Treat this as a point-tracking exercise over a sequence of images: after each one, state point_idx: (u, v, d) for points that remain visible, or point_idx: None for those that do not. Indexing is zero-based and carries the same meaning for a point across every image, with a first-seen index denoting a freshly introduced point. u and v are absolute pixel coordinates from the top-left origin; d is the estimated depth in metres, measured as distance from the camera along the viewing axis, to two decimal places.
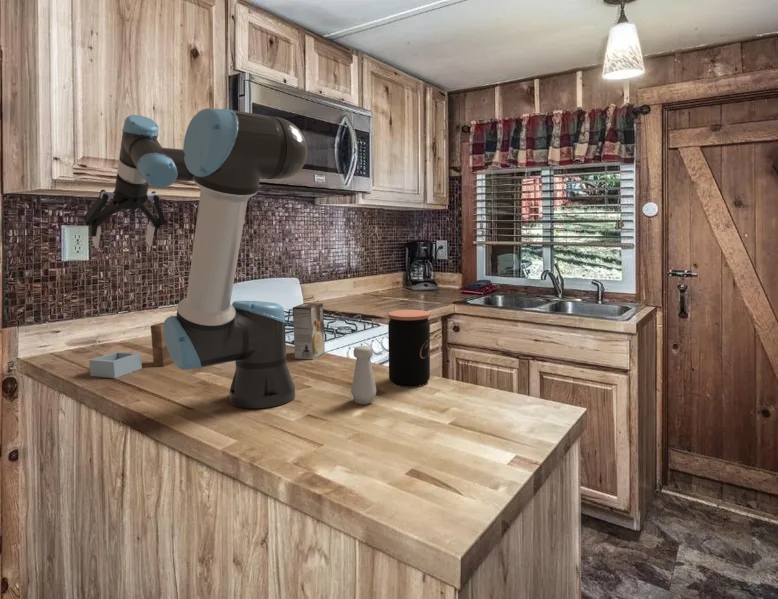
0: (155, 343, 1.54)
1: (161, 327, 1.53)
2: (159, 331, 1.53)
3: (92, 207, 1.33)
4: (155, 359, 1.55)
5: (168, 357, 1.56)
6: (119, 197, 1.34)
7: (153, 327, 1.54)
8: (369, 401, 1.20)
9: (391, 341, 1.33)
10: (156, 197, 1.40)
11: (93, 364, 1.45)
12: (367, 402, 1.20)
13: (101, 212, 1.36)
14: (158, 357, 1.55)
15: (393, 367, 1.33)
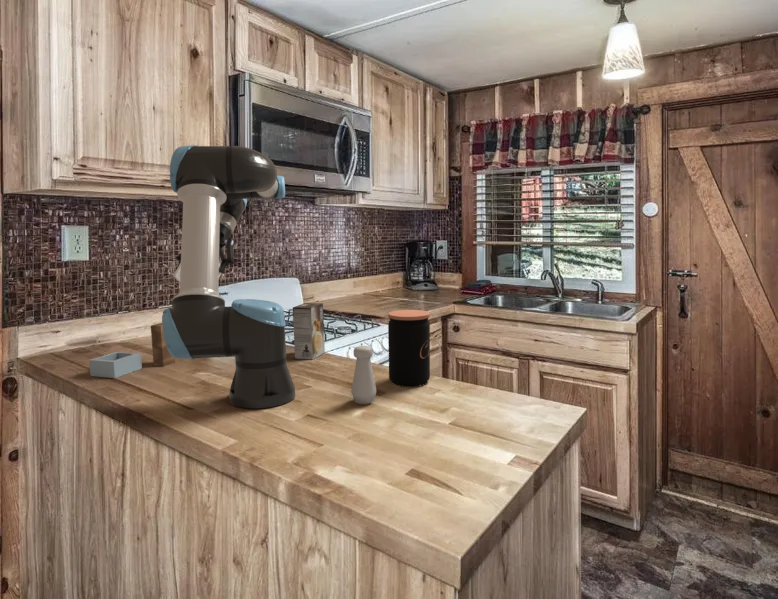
0: (155, 343, 1.54)
1: (161, 327, 1.53)
2: (159, 331, 1.53)
3: None
4: (155, 359, 1.55)
5: (168, 357, 1.56)
6: None
7: (153, 327, 1.54)
8: (369, 401, 1.20)
9: (391, 341, 1.33)
10: (229, 238, 1.69)
11: (93, 364, 1.45)
12: (367, 402, 1.20)
13: None
14: (158, 357, 1.55)
15: (393, 367, 1.33)
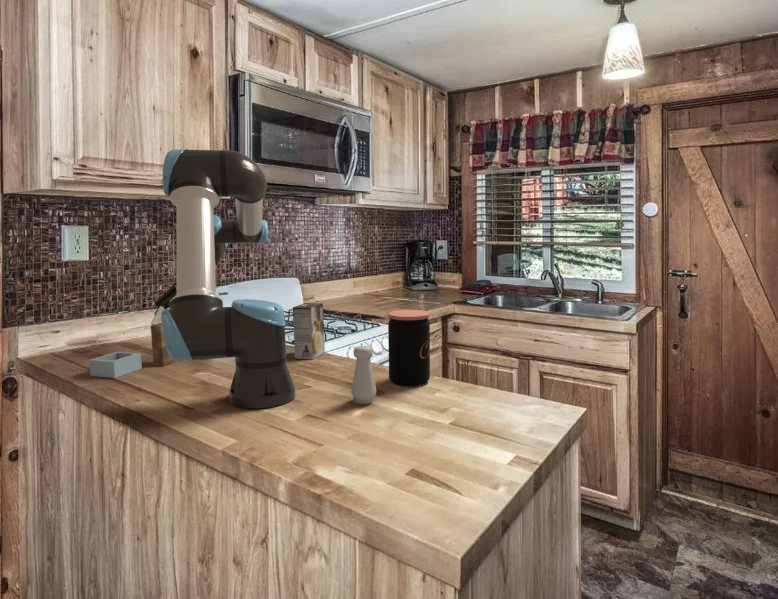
0: (155, 343, 1.54)
1: (161, 327, 1.53)
2: (159, 331, 1.53)
3: None
4: (155, 359, 1.55)
5: (168, 357, 1.56)
6: None
7: (153, 327, 1.54)
8: (369, 401, 1.20)
9: (391, 341, 1.33)
10: None
11: (93, 364, 1.45)
12: (367, 402, 1.20)
13: None
14: (158, 357, 1.55)
15: (393, 367, 1.33)
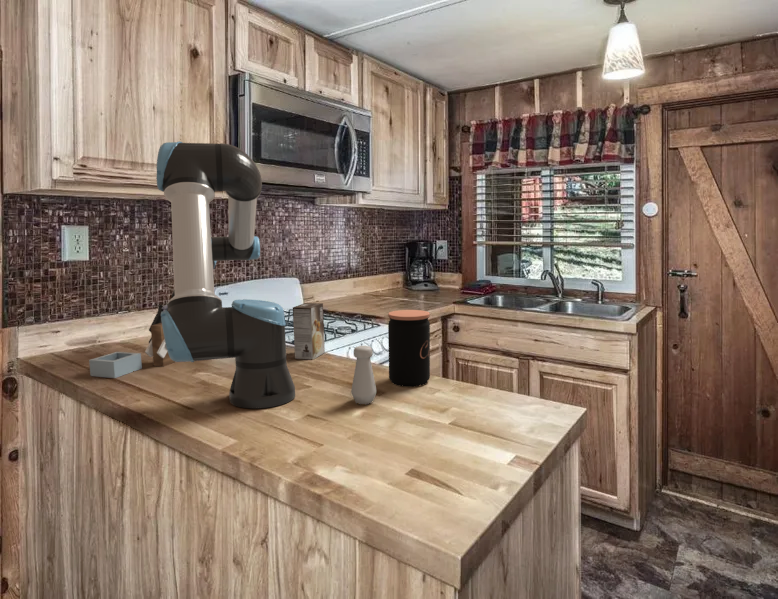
0: (155, 343, 1.54)
1: (161, 327, 1.53)
2: (159, 331, 1.53)
3: None
4: (155, 359, 1.55)
5: (168, 357, 1.56)
6: None
7: (153, 327, 1.54)
8: (369, 401, 1.20)
9: (391, 341, 1.33)
10: None
11: (93, 364, 1.45)
12: (367, 402, 1.20)
13: None
14: (158, 357, 1.55)
15: (393, 367, 1.33)
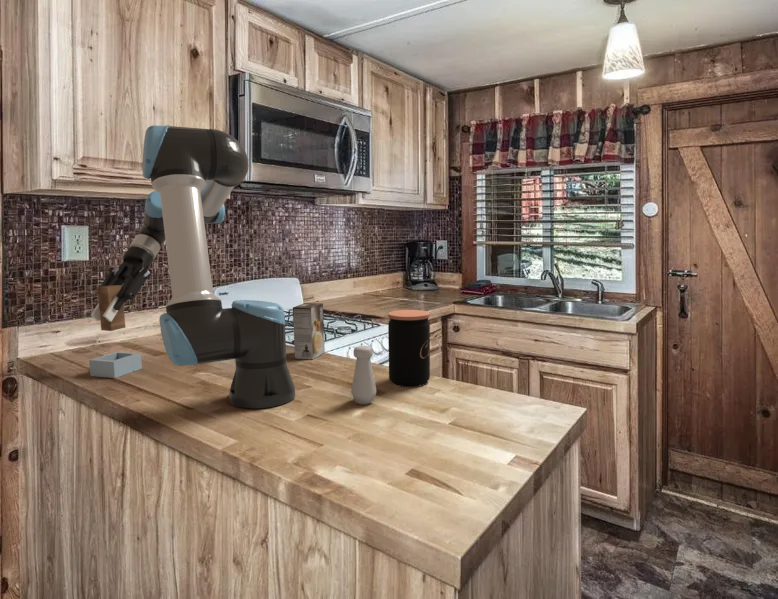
0: (102, 306, 1.44)
1: (108, 288, 1.43)
2: (106, 292, 1.43)
3: None
4: (102, 323, 1.45)
5: (117, 321, 1.46)
6: (121, 265, 1.53)
7: (100, 289, 1.44)
8: (369, 401, 1.20)
9: (391, 341, 1.33)
10: (144, 268, 1.50)
11: (93, 364, 1.45)
12: (367, 402, 1.20)
13: None
14: (106, 321, 1.45)
15: (393, 367, 1.33)
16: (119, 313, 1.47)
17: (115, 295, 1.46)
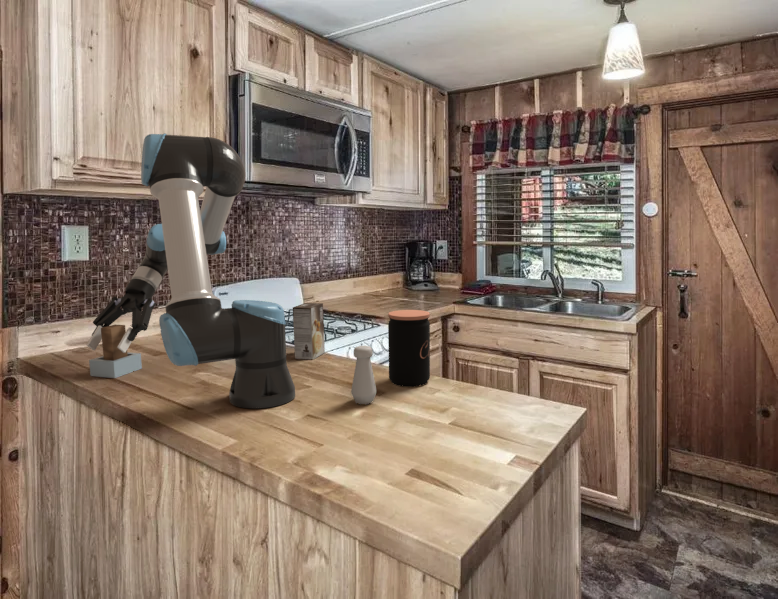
0: (106, 346, 1.46)
1: (112, 329, 1.45)
2: (109, 333, 1.45)
3: None
4: None
5: None
6: (124, 297, 1.55)
7: (103, 329, 1.45)
8: (369, 401, 1.20)
9: (391, 341, 1.33)
10: (149, 298, 1.52)
11: (93, 364, 1.45)
12: (367, 402, 1.20)
13: None
14: None
15: (393, 367, 1.33)
16: (122, 353, 1.49)
17: (118, 335, 1.47)
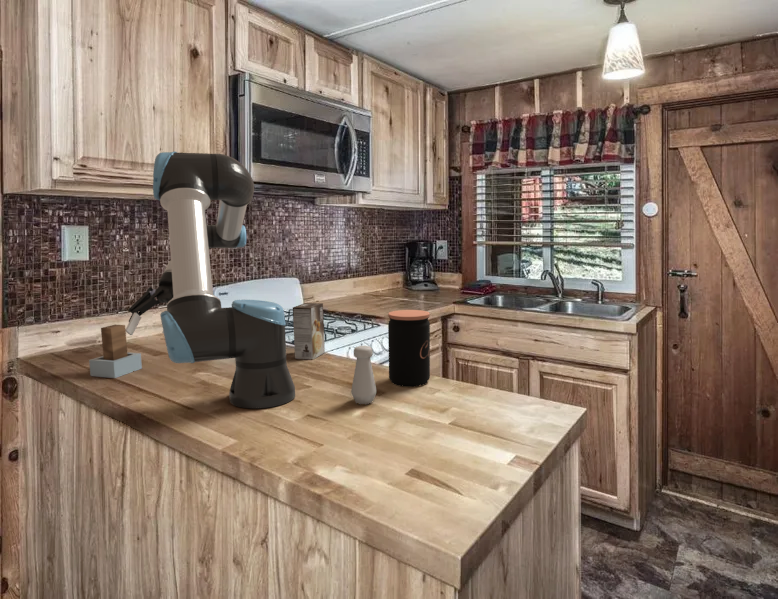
0: (106, 346, 1.46)
1: (112, 329, 1.45)
2: (109, 333, 1.45)
3: None
4: None
5: None
6: (158, 289, 1.68)
7: (103, 329, 1.45)
8: (369, 401, 1.20)
9: (391, 341, 1.33)
10: None
11: (93, 364, 1.45)
12: (367, 402, 1.20)
13: None
14: None
15: (393, 367, 1.33)
16: (122, 353, 1.49)
17: (118, 335, 1.47)
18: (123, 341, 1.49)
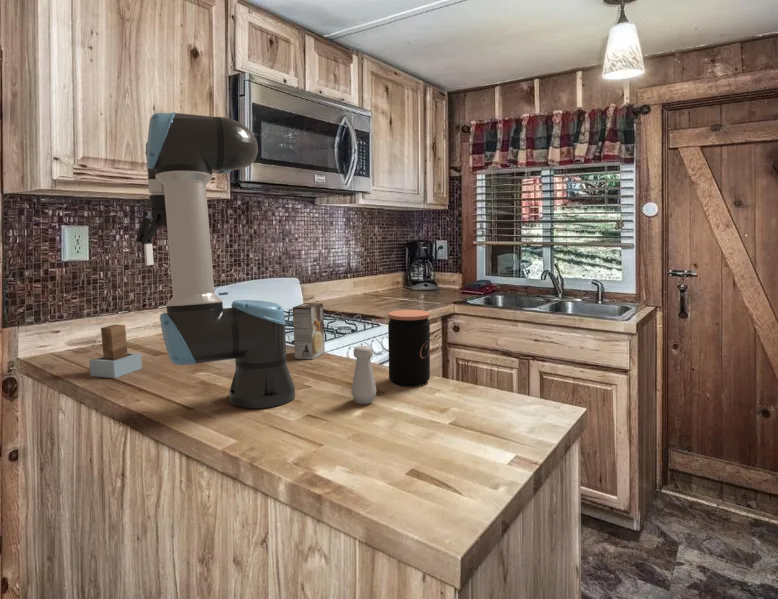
0: (106, 346, 1.46)
1: (112, 329, 1.45)
2: (109, 333, 1.45)
3: None
4: None
5: None
6: (153, 213, 1.59)
7: (103, 329, 1.45)
8: (369, 401, 1.20)
9: (391, 341, 1.33)
10: None
11: (93, 364, 1.45)
12: (367, 402, 1.20)
13: None
14: None
15: (393, 367, 1.33)
16: (122, 353, 1.49)
17: (118, 335, 1.47)
18: (123, 341, 1.49)
